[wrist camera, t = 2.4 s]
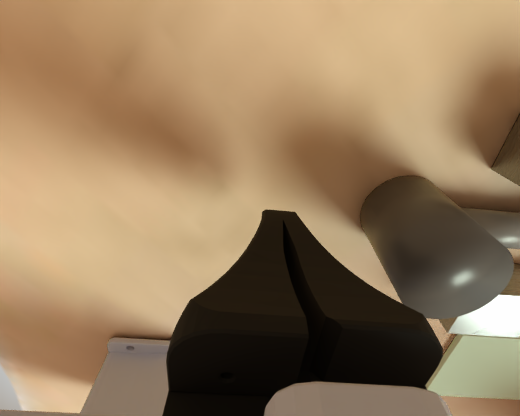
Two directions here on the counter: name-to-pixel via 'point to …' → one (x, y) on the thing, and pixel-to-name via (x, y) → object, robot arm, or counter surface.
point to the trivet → (479, 368)
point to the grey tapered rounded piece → (439, 247)
